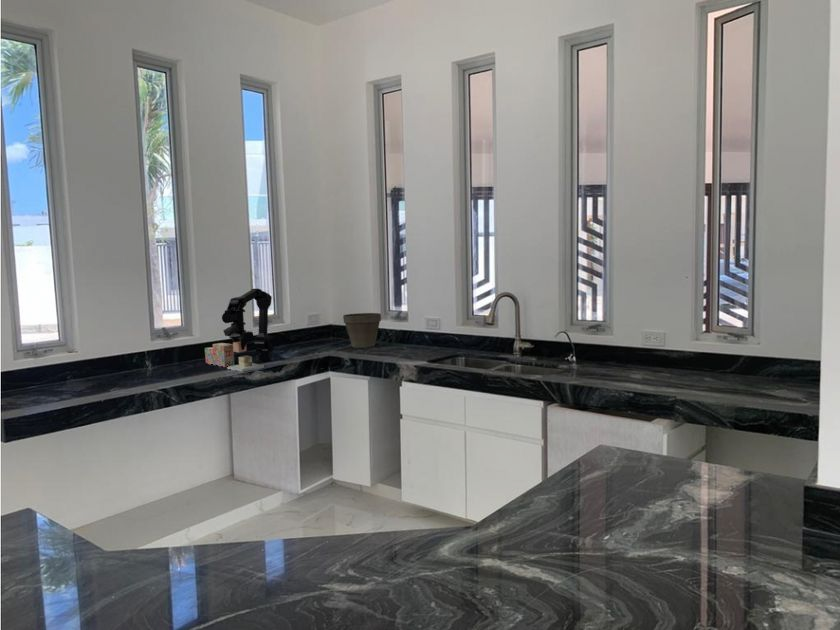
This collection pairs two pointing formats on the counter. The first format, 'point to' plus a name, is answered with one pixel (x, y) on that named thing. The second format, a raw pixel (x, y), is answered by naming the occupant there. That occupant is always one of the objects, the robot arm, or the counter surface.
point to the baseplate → (240, 368)
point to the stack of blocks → (220, 355)
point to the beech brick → (245, 361)
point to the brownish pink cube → (238, 347)
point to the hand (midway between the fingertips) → (240, 349)
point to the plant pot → (362, 328)
